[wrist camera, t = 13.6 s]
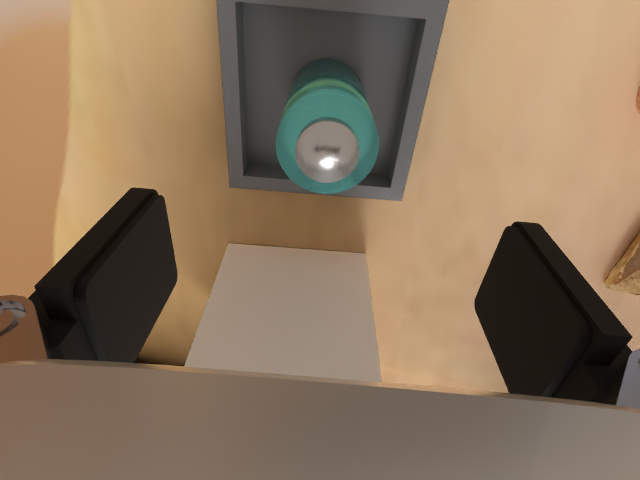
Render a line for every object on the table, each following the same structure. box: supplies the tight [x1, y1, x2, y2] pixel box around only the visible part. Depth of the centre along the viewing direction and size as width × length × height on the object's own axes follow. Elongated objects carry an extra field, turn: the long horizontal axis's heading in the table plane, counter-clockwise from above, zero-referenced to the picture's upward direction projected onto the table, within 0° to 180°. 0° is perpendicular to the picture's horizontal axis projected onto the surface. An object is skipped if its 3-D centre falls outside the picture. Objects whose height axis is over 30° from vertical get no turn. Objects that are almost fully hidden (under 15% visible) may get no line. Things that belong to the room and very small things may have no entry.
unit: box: [184, 243, 382, 382], centre depth 25 cm, size 11×8×13 cm
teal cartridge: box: [276, 58, 379, 194], centre depth 17 cm, size 4×4×8 cm
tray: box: [217, 0, 449, 201], centre depth 20 cm, size 10×10×2 cm
